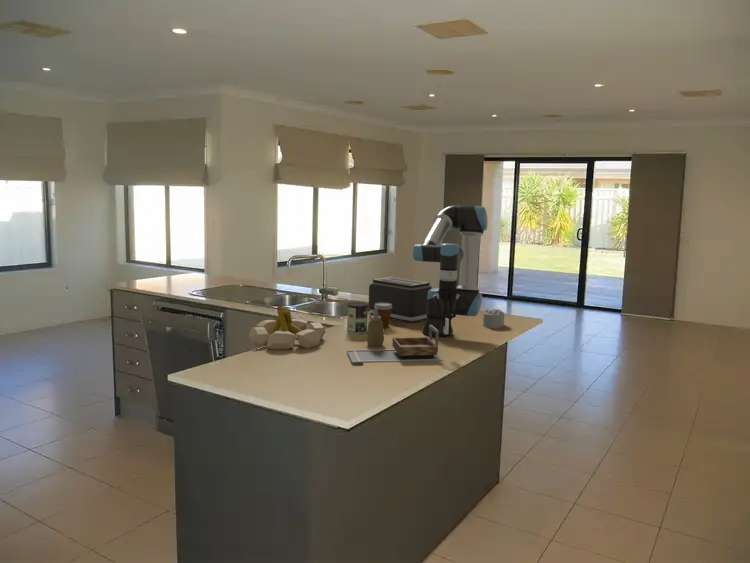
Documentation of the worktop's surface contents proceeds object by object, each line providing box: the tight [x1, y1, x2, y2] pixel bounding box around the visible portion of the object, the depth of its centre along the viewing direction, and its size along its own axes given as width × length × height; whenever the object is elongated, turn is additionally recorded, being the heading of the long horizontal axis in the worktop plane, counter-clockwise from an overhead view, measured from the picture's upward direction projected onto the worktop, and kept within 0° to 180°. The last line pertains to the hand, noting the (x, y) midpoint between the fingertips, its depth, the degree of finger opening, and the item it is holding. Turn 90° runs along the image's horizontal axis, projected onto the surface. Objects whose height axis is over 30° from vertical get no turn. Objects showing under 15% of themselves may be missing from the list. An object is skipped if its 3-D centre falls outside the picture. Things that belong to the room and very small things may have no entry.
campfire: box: [248, 305, 327, 350], centre depth 291 cm, size 35×34×17 cm
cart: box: [392, 325, 440, 359], centre depth 269 cm, size 17×16×12 cm
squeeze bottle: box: [366, 308, 385, 348], centre depth 284 cm, size 8×8×18 cm
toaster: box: [368, 276, 433, 324], centre depth 353 cm, size 19×35×20 cm, turn 49°
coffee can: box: [346, 301, 369, 335], centre depth 313 cm, size 10×10×14 cm
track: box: [346, 348, 443, 365], centre depth 268 cm, size 38×18×1 cm, turn 100°
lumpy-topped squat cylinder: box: [482, 308, 505, 329], centre depth 335 cm, size 10×13×9 cm
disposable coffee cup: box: [374, 303, 392, 329], centre depth 326 cm, size 10×10×12 cm
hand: (445, 333), depth 271 cm, fingers closed
